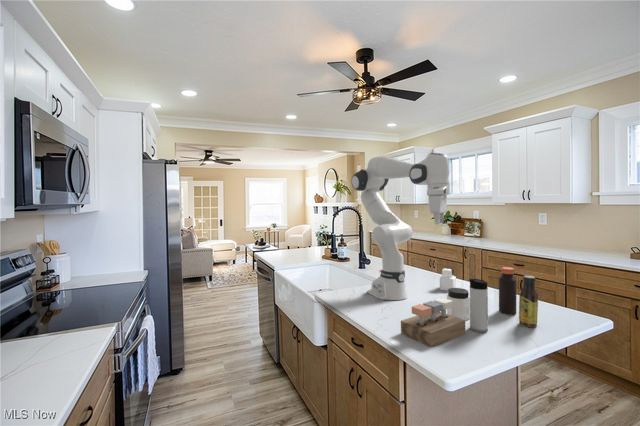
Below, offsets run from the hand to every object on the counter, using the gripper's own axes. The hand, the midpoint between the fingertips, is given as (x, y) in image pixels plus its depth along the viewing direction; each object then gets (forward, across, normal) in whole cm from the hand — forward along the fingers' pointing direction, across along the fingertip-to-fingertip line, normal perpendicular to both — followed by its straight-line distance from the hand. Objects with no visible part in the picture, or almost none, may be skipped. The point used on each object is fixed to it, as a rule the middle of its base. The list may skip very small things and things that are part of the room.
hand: (439, 223), depth 134 cm
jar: (+41, -5, +6) cm, 42 cm away
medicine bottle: (+41, -49, -4) cm, 64 cm away
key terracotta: (+37, +22, -3) cm, 43 cm away
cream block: (+37, +10, +3) cm, 39 cm away
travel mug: (+41, +5, +14) cm, 44 cm away
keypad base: (+41, +16, 0) cm, 44 cm away
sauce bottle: (+42, -9, +32) cm, 53 cm away
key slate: (+37, +16, 0) cm, 40 cm away
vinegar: (+41, -22, +25) cm, 53 cm away
